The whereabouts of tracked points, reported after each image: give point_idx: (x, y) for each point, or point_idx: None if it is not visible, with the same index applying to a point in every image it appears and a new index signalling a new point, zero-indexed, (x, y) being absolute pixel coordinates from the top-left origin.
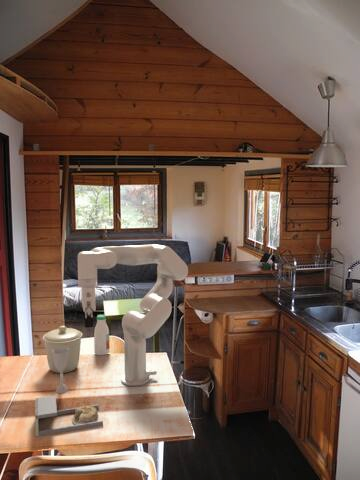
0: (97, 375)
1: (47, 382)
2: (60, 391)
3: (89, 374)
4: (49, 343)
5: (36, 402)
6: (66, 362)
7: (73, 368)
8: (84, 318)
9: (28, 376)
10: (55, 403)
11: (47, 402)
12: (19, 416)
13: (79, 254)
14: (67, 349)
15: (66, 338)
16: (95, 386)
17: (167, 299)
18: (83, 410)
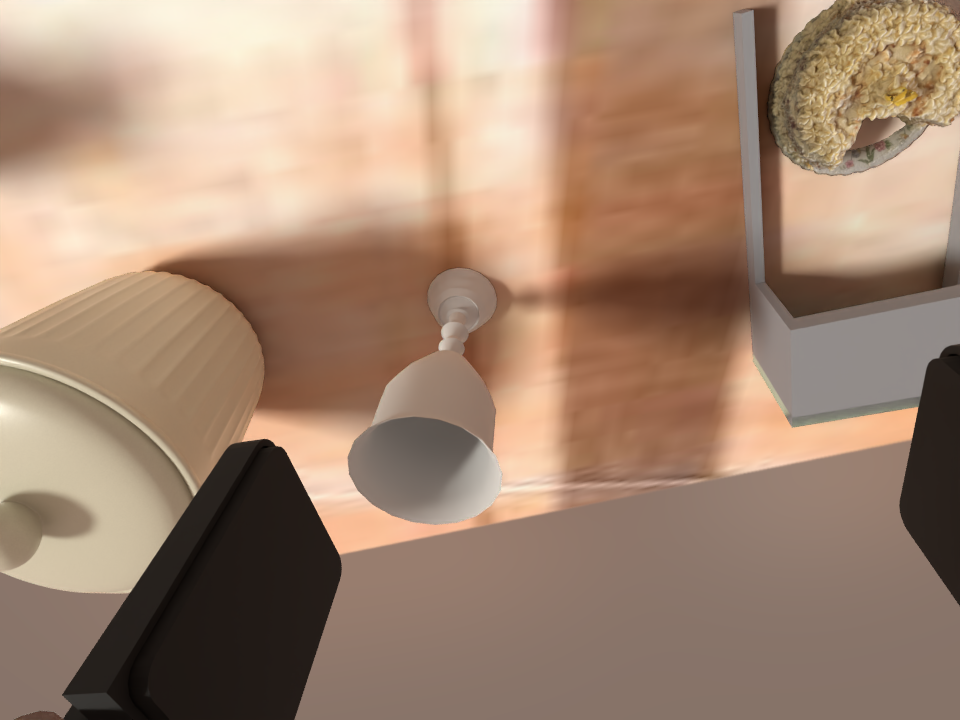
0: (234, 107)
1: (372, 387)
2: (492, 304)
3: (230, 170)
4: None
5: (850, 413)
6: (455, 368)
7: (208, 289)
8: (333, 594)
9: (316, 477)
10: (911, 311)
11: (873, 358)
12: (719, 430)
13: None
14: (383, 422)
15: (130, 465)
16: (405, 93)
17: None
18: (890, 109)
